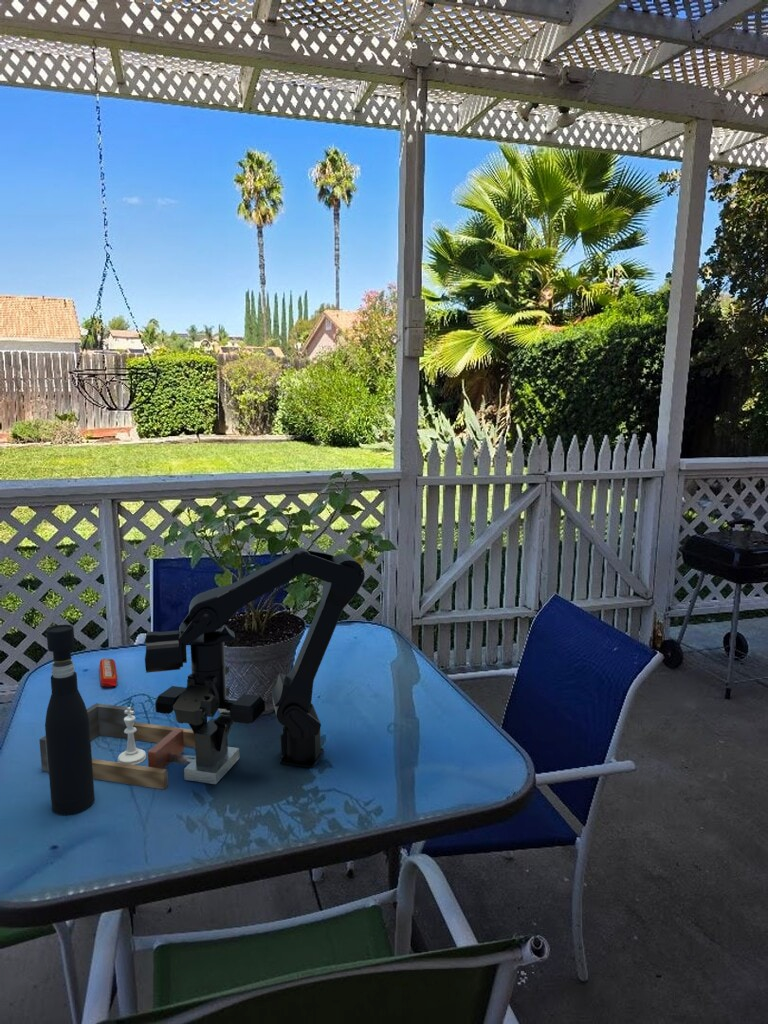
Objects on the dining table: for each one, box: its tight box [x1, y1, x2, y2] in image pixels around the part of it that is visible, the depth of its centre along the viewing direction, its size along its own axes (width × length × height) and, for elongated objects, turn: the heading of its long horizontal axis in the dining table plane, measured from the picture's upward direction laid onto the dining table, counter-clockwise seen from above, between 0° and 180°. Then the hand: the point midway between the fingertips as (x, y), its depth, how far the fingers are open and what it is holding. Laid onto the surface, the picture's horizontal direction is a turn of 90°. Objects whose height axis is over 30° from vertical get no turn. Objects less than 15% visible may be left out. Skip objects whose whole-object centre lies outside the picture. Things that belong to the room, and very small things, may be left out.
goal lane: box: [38, 703, 195, 790], centre depth 125 cm, size 25×15×6 cm, turn 76°
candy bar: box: [98, 658, 118, 688], centre depth 164 cm, size 16×4×3 cm, turn 24°
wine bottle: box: [44, 624, 96, 816], centre depth 109 cm, size 6×6×30 cm
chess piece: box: [117, 706, 147, 765], centre depth 125 cm, size 5×5×10 cm
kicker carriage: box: [147, 717, 240, 785], centre depth 122 cm, size 13×9×8 cm
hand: (212, 749), depth 121 cm, fingers closed on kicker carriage, 3 cm apart
